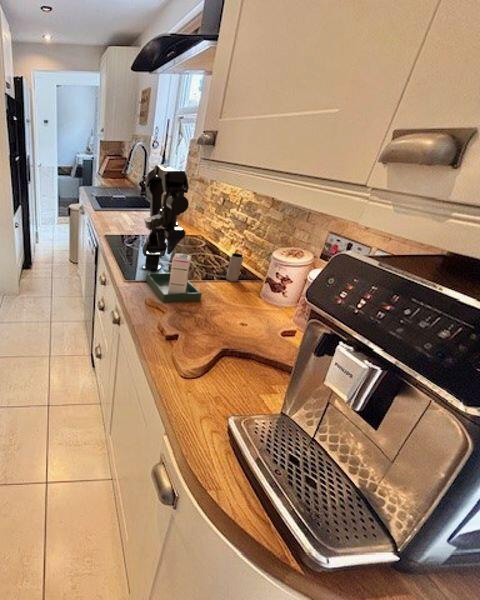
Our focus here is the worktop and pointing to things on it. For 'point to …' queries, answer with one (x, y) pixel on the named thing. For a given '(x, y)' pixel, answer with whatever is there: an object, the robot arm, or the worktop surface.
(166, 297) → the tray
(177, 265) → the syrup box
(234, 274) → the grey upright cylinder
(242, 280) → the worktop surface
